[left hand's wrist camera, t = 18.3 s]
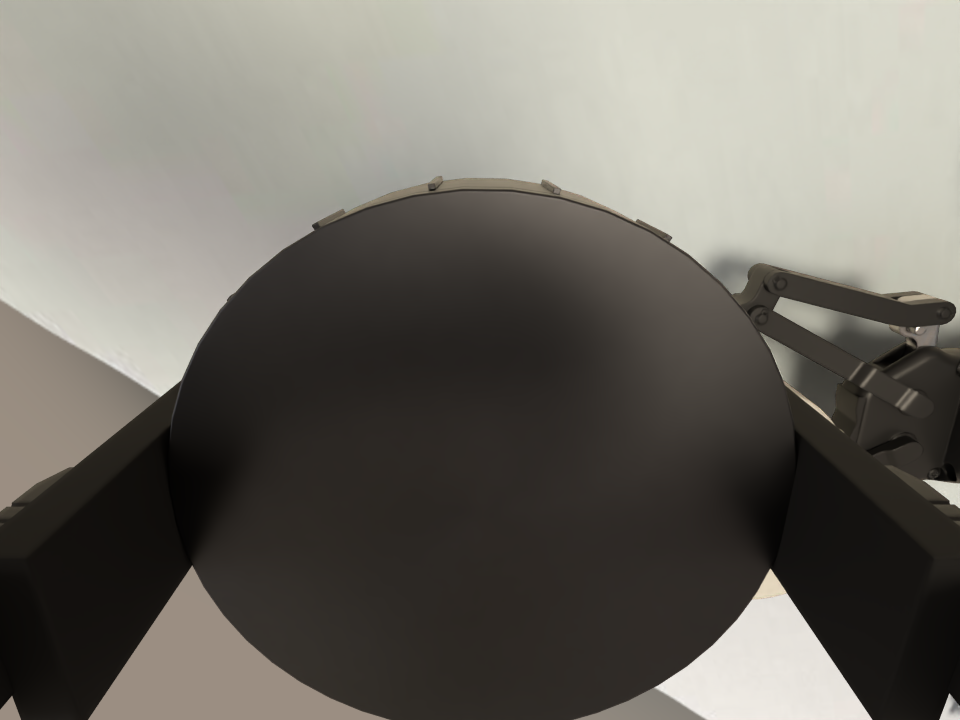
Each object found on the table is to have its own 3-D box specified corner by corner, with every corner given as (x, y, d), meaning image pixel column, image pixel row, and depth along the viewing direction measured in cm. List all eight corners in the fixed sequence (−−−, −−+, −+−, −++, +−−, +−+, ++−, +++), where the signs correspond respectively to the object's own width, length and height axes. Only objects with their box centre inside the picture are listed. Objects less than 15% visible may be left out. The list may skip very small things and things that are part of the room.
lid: (125, 283, 11) (33, 321, 9) (685, 90, 10) (748, 75, 8) (342, 680, 15) (316, 780, 12) (775, 571, 13) (836, 660, 11)
